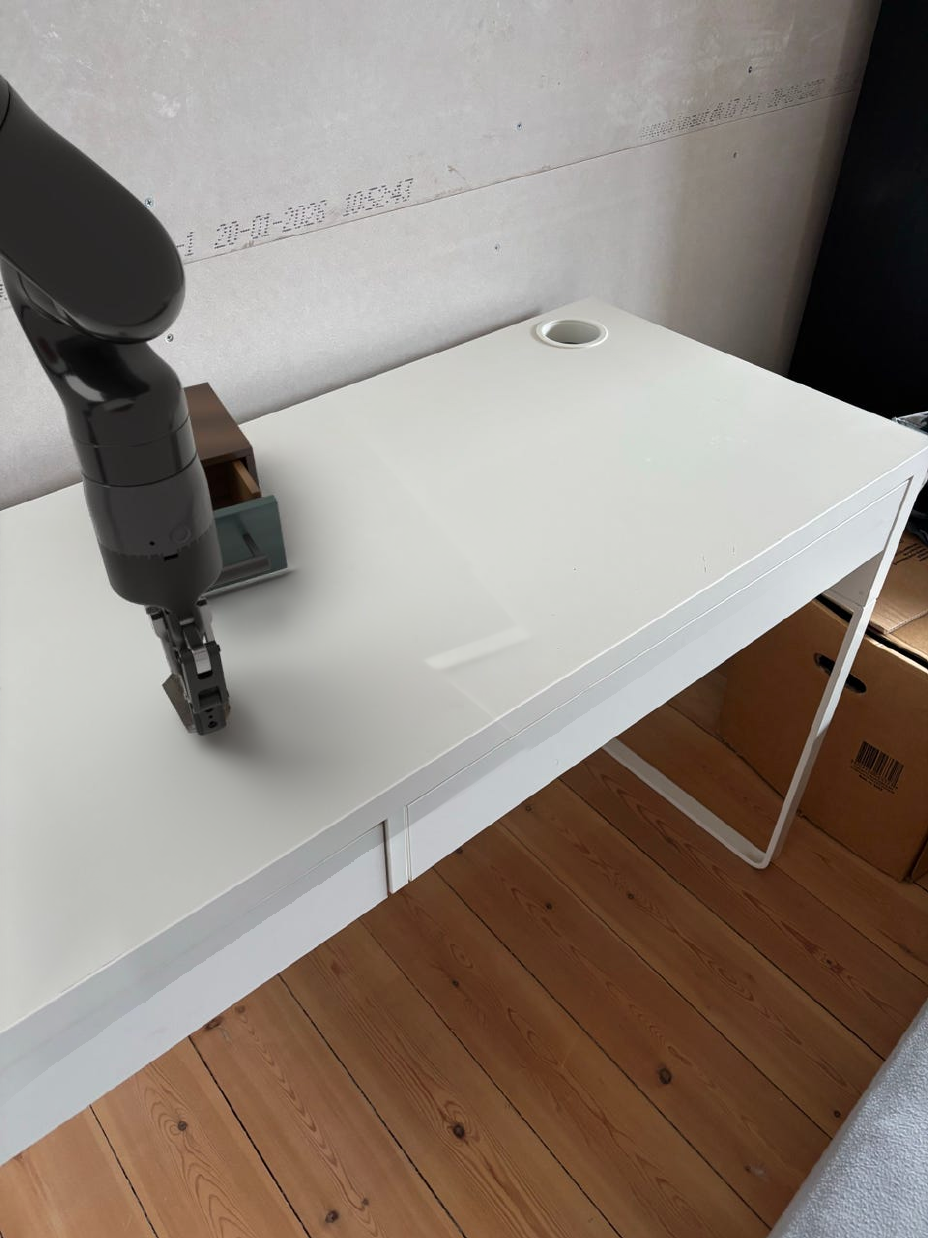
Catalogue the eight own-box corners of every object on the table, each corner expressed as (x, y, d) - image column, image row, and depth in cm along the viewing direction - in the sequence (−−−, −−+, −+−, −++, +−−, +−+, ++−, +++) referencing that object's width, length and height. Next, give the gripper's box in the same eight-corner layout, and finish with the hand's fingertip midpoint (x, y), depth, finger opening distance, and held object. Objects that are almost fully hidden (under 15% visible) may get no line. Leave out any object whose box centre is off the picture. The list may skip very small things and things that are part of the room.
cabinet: (267, 528, 95) (252, 446, 89) (137, 565, 91) (113, 482, 85) (223, 459, 105) (207, 381, 99) (104, 489, 101) (81, 410, 95)
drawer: (307, 598, 86) (296, 529, 81) (178, 638, 82) (160, 569, 77) (242, 495, 98) (230, 431, 93) (128, 526, 94) (110, 461, 90)
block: (200, 676, 77) (196, 659, 76) (237, 719, 74) (234, 702, 73) (157, 696, 76) (153, 679, 74) (194, 741, 72) (189, 724, 71)
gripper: (72, 479, 67) (127, 659, 78) (120, 595, 57) (175, 783, 68) (181, 452, 70) (219, 630, 81) (244, 560, 60) (277, 745, 71)
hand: (198, 699), depth 74 cm, fingers closed on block, 6 cm apart
